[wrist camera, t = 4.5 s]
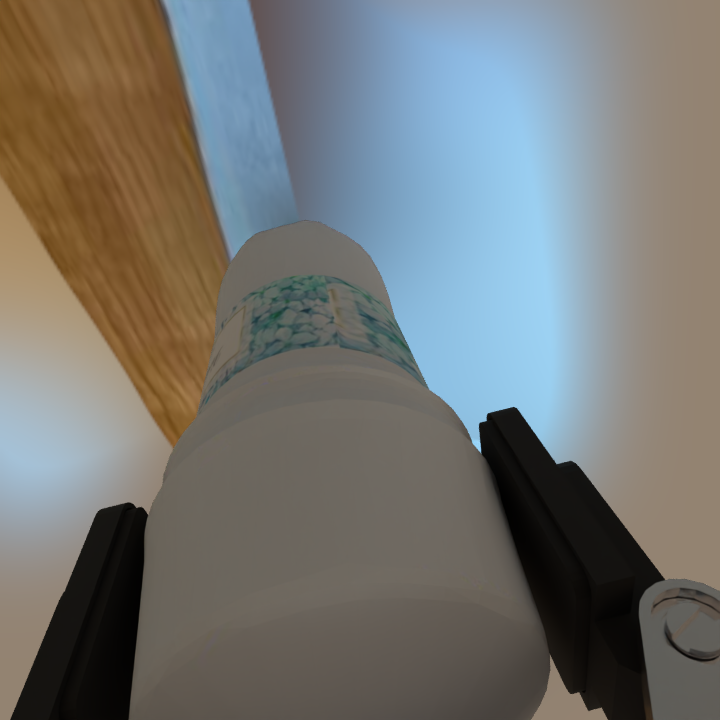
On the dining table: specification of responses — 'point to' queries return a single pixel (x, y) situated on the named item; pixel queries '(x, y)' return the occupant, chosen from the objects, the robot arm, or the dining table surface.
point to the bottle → (328, 520)
